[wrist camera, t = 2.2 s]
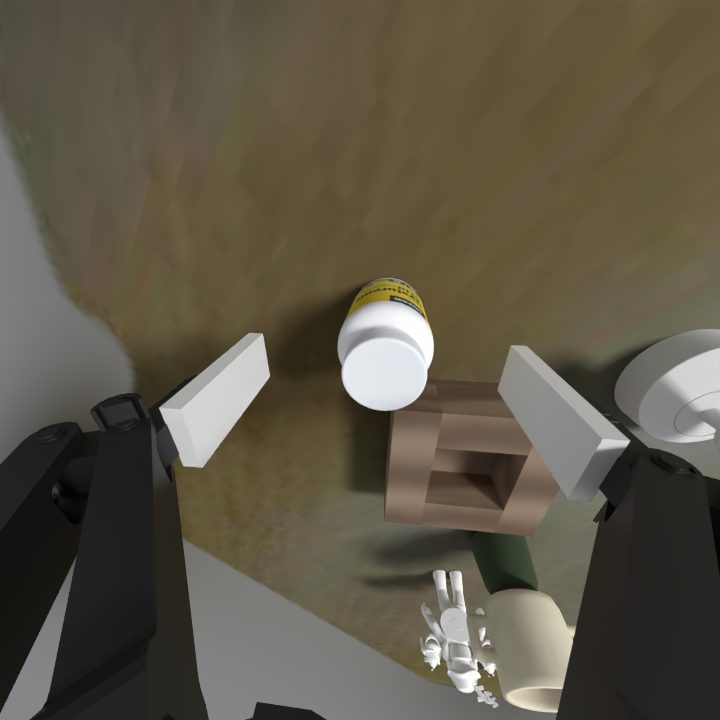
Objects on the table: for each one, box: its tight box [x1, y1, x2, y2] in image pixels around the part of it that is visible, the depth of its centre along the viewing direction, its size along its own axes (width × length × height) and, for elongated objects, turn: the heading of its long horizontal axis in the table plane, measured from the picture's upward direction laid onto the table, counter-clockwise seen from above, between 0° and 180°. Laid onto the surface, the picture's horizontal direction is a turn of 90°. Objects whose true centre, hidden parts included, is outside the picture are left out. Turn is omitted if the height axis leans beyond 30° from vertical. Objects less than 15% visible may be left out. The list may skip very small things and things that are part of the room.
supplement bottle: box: [338, 278, 434, 411], centre depth 17 cm, size 5×5×10 cm
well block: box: [384, 379, 560, 537], centre depth 25 cm, size 14×14×4 cm
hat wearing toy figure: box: [420, 570, 498, 708], centre depth 34 cm, size 9×4×12 cm, turn 93°
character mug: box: [466, 531, 576, 712], centre depth 28 cm, size 11×7×13 cm, turn 93°
